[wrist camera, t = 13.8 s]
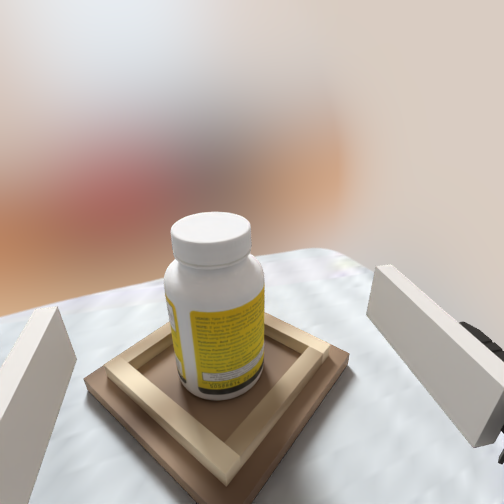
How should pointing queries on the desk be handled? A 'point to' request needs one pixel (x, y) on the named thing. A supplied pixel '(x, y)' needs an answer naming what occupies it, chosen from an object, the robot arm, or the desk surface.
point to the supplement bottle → (215, 305)
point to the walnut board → (219, 410)
